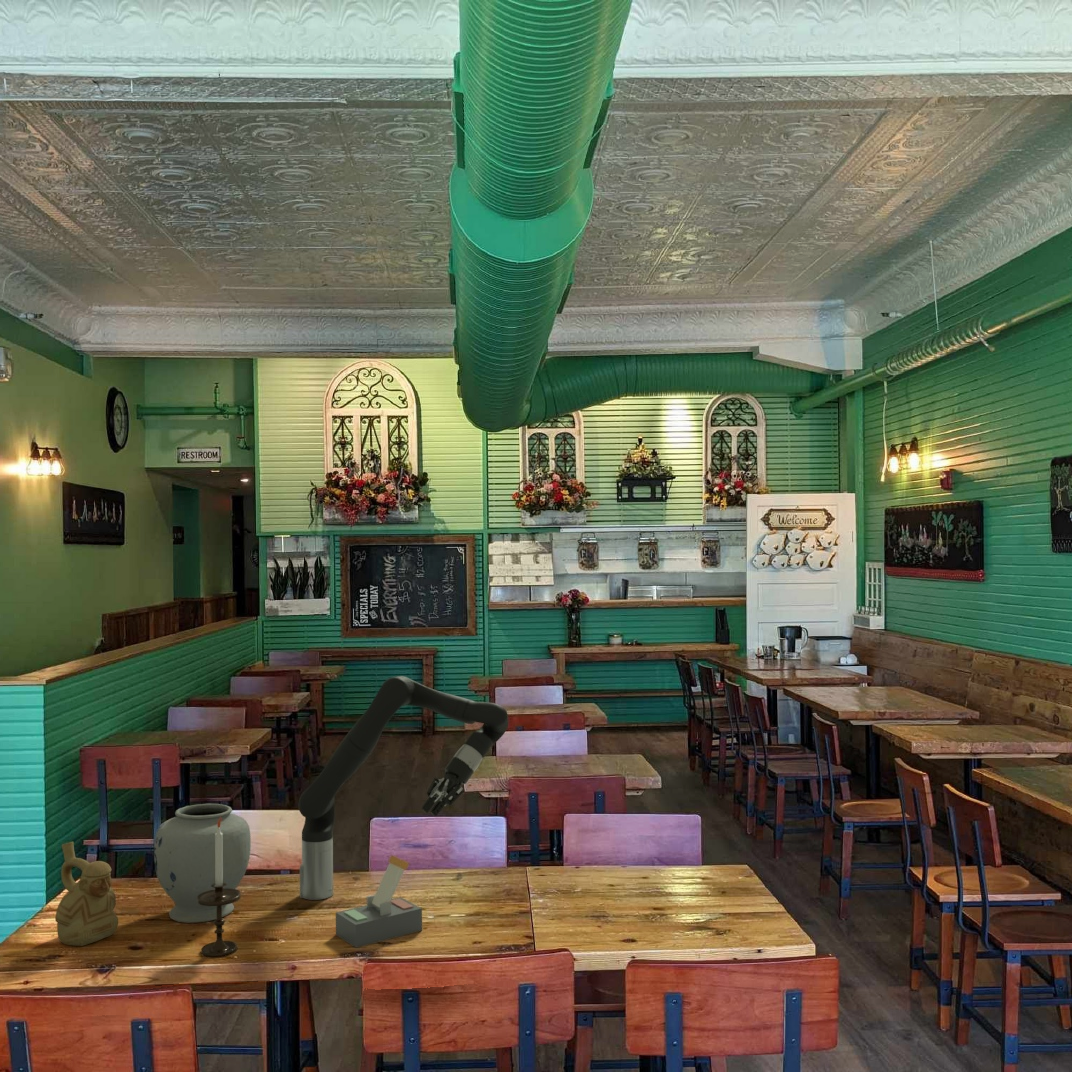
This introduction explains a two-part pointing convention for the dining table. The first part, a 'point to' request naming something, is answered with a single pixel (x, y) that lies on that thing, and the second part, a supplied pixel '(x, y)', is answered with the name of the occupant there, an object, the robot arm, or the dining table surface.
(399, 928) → the switch box
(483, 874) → the dining table surface
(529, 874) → the dining table surface
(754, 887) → the dining table surface
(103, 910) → the ceramic vessel
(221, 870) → the candlestick
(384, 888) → the lever
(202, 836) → the ceramic vase
